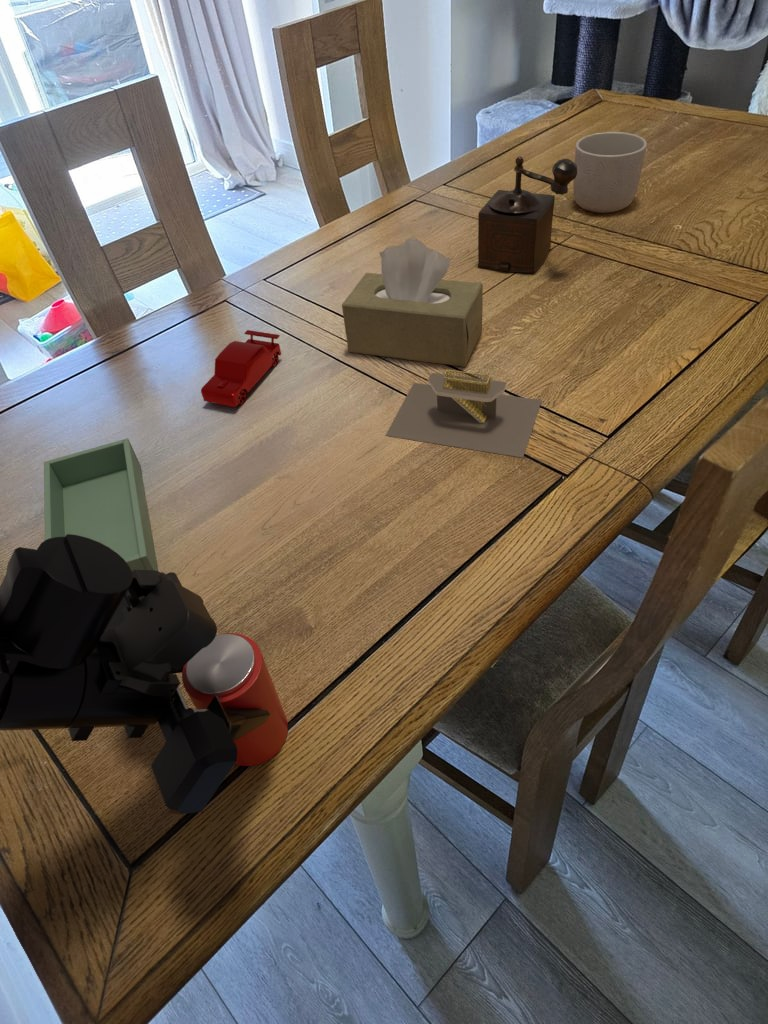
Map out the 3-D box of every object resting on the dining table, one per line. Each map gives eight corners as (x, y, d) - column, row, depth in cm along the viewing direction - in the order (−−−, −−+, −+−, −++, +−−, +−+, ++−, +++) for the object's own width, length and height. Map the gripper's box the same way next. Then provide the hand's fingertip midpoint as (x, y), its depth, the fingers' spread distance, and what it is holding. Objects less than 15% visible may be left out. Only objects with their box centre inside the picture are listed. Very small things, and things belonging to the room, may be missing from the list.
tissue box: (484, 332, 106) (485, 229, 94) (467, 368, 99) (466, 262, 88) (369, 319, 111) (357, 220, 100) (346, 352, 105) (331, 251, 94)
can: (224, 777, 60) (185, 711, 52) (212, 714, 64) (174, 644, 56) (296, 750, 61) (268, 681, 53) (278, 690, 65) (251, 618, 57)
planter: (648, 211, 130) (659, 148, 122) (585, 222, 128) (593, 160, 121) (618, 187, 138) (627, 127, 130) (559, 198, 137) (565, 138, 129)
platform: (523, 457, 85) (526, 415, 80) (385, 435, 90) (380, 394, 86) (541, 400, 93) (545, 358, 88) (413, 382, 98) (411, 342, 93)
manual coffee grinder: (474, 269, 120) (474, 158, 107) (495, 241, 126) (498, 134, 114) (563, 281, 114) (575, 166, 101) (580, 251, 121) (593, 139, 108)
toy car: (253, 352, 107) (246, 324, 104) (285, 358, 105) (278, 329, 102) (204, 406, 99) (194, 377, 95) (237, 412, 97) (229, 383, 93)
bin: (63, 614, 74) (45, 587, 71) (59, 488, 89) (43, 461, 85) (160, 583, 76) (146, 555, 73) (140, 465, 91) (128, 437, 87)
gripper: (163, 702, 39) (356, 700, 50) (81, 511, 51) (252, 544, 62) (81, 834, 42) (279, 804, 53) (22, 625, 54) (195, 637, 65)
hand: (250, 686), depth 58 cm, fingers closed on can, 6 cm apart
